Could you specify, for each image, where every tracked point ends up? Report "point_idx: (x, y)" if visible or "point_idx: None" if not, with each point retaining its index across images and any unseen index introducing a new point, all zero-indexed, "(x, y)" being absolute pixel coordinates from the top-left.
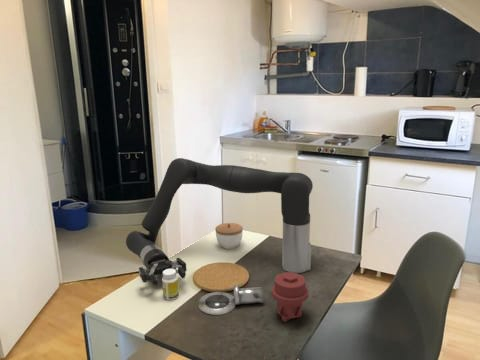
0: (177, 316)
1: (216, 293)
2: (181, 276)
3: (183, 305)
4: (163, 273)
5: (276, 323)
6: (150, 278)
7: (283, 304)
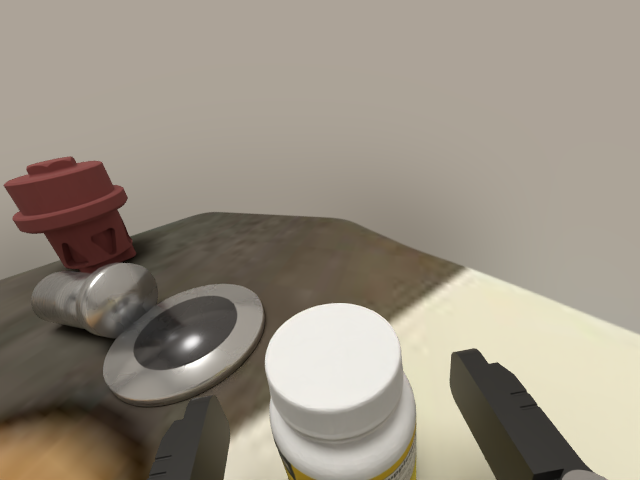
0: None
1: (137, 382)
2: (221, 457)
3: None
4: (392, 331)
5: (152, 252)
6: (558, 438)
7: (118, 213)
